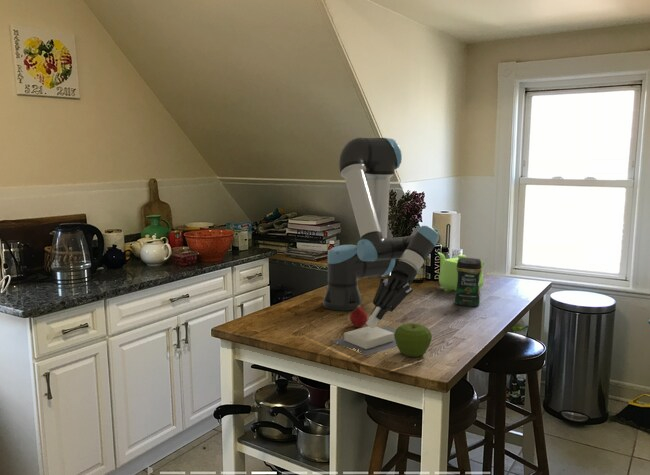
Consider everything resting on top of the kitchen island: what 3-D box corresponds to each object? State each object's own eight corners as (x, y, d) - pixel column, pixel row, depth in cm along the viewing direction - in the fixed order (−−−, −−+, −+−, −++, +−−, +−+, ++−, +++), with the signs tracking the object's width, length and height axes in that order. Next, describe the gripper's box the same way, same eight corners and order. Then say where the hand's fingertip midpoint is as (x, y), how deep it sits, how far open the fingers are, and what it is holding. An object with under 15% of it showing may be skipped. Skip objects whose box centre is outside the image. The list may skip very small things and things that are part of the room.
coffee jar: (453, 305, 212) (455, 259, 209) (455, 300, 220) (457, 255, 217) (479, 308, 209) (481, 260, 206) (480, 302, 216) (482, 257, 214)
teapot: (501, 292, 233) (503, 255, 230) (467, 299, 221) (469, 261, 218) (457, 280, 253) (458, 247, 251) (423, 287, 241) (424, 252, 239)
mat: (384, 327, 186) (384, 326, 186) (419, 340, 173) (419, 338, 173) (330, 342, 171) (330, 341, 171) (364, 357, 158) (364, 355, 158)
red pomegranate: (362, 332, 181) (362, 309, 180) (347, 329, 184) (347, 306, 183) (370, 327, 186) (370, 304, 185) (355, 324, 189) (355, 302, 188)
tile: (372, 325, 178) (344, 332, 170) (394, 333, 170) (366, 341, 163) (372, 333, 178) (344, 341, 171) (393, 341, 170) (365, 350, 163)
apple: (393, 361, 156) (393, 328, 154) (394, 348, 166) (395, 317, 164) (431, 364, 154) (432, 330, 152) (430, 350, 164) (431, 319, 163)
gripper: (428, 277, 175) (390, 337, 167) (398, 270, 185) (361, 327, 177) (417, 263, 171) (378, 324, 163) (387, 257, 181) (349, 314, 173)
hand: (369, 326), depth 170 cm, fingers closed
